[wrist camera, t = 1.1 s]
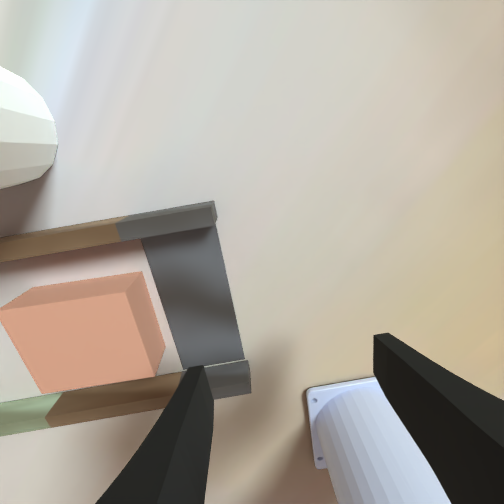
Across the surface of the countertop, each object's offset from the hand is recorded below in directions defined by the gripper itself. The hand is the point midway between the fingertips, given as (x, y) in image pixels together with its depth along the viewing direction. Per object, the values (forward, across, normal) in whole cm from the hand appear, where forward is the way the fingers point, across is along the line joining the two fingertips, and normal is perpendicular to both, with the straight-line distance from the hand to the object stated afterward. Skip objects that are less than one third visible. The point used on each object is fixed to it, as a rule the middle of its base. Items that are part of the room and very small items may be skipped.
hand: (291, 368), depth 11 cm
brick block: (+7, +12, 0) cm, 14 cm away
